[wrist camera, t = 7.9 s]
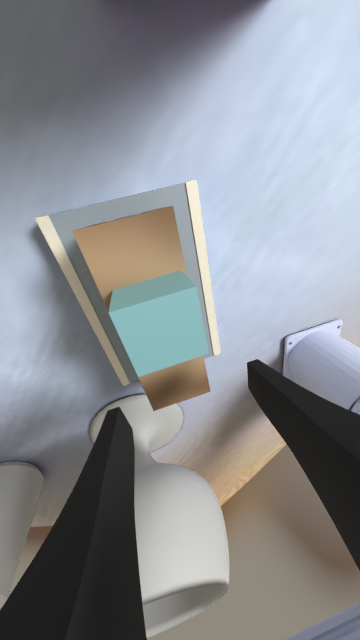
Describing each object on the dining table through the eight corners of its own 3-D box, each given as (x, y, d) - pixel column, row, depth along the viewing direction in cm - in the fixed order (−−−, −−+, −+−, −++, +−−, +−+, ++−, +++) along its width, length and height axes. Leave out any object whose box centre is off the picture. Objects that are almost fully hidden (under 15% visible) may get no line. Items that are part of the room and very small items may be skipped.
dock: (215, 345, 23) (220, 353, 22) (123, 375, 22) (122, 386, 21) (190, 182, 15) (196, 179, 14) (43, 217, 14) (35, 218, 13)
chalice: (206, 421, 30) (266, 580, 17) (129, 467, 31) (130, 652, 18) (153, 366, 23) (188, 567, 10) (55, 428, 24) (-32, 688, 11)
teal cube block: (193, 326, 14) (208, 353, 11) (136, 345, 13) (138, 377, 11) (180, 269, 12) (196, 286, 9) (112, 289, 11) (108, 312, 9)
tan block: (193, 355, 21) (210, 391, 17) (148, 370, 21) (153, 411, 16) (159, 208, 14) (173, 205, 10) (89, 225, 14) (72, 231, 9)
